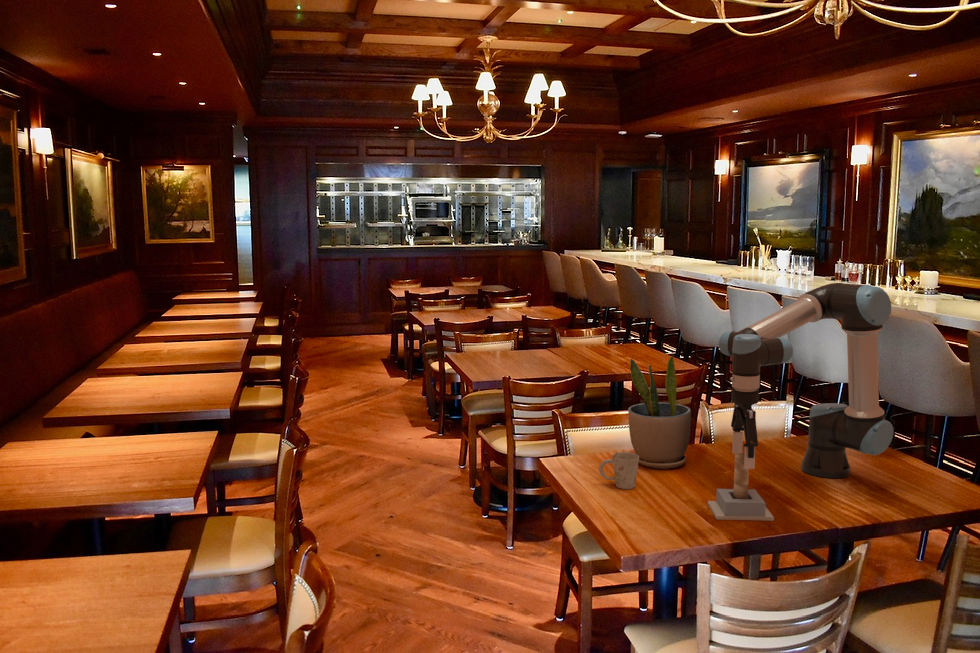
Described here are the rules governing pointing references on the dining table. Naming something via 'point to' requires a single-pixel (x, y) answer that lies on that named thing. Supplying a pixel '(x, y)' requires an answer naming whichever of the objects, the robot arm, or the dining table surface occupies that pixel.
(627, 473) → the mug
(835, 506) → the dining table surface
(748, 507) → the socket
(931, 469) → the dining table surface
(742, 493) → the peg
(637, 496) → the dining table surface
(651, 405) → the potted plant
